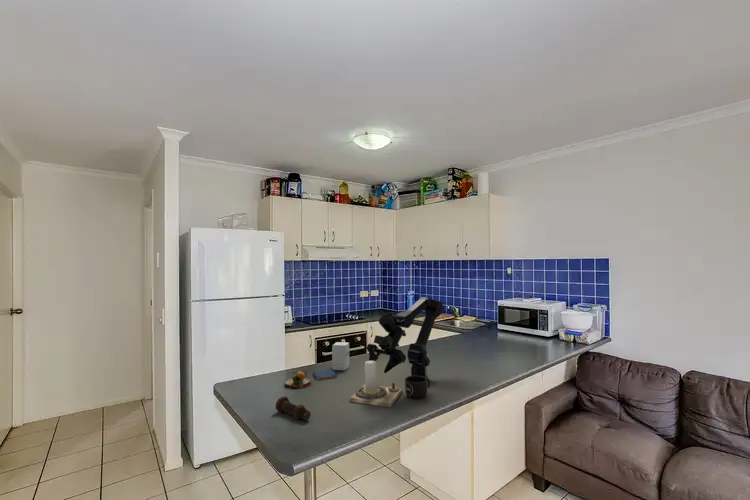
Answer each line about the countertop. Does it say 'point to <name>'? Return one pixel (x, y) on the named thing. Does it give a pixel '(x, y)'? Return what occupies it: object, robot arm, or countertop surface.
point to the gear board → (378, 396)
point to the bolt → (292, 409)
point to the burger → (298, 381)
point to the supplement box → (340, 356)
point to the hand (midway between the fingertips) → (376, 370)
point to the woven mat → (324, 374)
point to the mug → (416, 386)
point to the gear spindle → (371, 379)
